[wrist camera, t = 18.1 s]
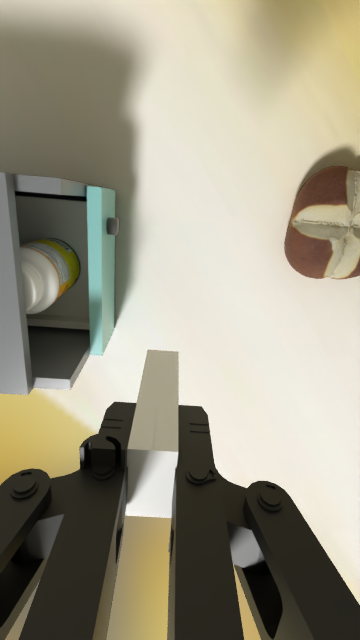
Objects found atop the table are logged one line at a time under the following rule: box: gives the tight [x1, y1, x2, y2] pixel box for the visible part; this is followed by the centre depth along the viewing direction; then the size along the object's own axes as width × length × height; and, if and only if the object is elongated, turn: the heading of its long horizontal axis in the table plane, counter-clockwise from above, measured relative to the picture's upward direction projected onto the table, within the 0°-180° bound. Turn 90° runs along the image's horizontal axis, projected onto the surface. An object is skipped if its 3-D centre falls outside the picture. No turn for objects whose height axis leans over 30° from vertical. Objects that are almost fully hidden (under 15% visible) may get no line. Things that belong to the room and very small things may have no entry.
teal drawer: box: [15, 186, 119, 356], centre depth 32 cm, size 16×15×7 cm
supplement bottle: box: [20, 238, 81, 314], centre depth 28 cm, size 6×6×10 cm
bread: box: [284, 166, 360, 279], centre depth 32 cm, size 11×11×5 cm
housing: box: [0, 172, 103, 395], centre depth 28 cm, size 16×14×14 cm
